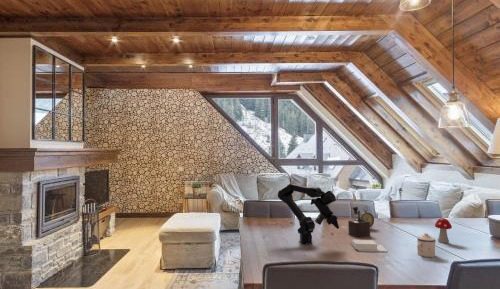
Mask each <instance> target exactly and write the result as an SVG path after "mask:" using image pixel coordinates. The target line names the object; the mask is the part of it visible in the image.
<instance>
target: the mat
mask: <svg viewBox="0 0 500 289" xmlns="http://www.w3.org/2000/svg"><path fill="white" fill-rule="evenodd" d="M356 250H357V252H374V253H388V250H387V249H386V248H385V247H384V246H383V245H382V244H377V250H369V249H356Z"/></svg>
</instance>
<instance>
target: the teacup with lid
mask: <svg viewBox="0 0 500 289" xmlns="http://www.w3.org/2000/svg"><path fill="white" fill-rule="evenodd" d="M416 240H417V249H416V250H417V254H418V256H420V257H425V258H434V257H436V238H435V237H432V236H431V235H429V234H428V233H424V234H423V235H420V236H417V238H416Z"/></svg>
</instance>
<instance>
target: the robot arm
mask: <svg viewBox="0 0 500 289" xmlns="http://www.w3.org/2000/svg"><path fill="white" fill-rule="evenodd" d="M294 191H295V192H298V193H301V194H305V195H307V197H310V198H311V200H310V206H312V205H314V206H315V207H316V208H317V210H318V212H319V214H317V217H316V218H315V220H313V218H312V217H311V216H306V215H305V214H304V212H303V211H302V210H301V208H300V207H299V206H298V204H297V203H296V202H295V200H294V198H293V193H294ZM277 197H278V199H279V200H280V201H281V202H283V203H285V204H286V206H287V207H288V209H290V210H291V212H292V214H293V215H294V216H295V218H296V219H297V220H298V223H299V228H298V229H297V233H298V234H299V240H298V243H300V244H301V245H312V244H313V235H312V233H314V230H315V227H316V224H318V225H319V226H321V225H322V223H323V221H324V220H326V221H325V222H326V223H327V224H328V226H330V225H331V224H332V226H334V228H335V229H337V230H339V229H340V225H339V223H338V220H339V219H338V217H337V216H336V214H334V211H332V210H331V208H330V207H329V205H330V204H332V203H334V202H336V201H337V197H336V195H335V194H334V193H333V192H332V191H331V190H327V191H326V192H324V191H323V190H322V189H321V187H319V186H318V187H317V186H315V187H314V186H313V187H312V186H311V187H308V186H306V185H305V186H304V185H300V184H296V183H289V184H287V186H285V187H284V188H282V189H279V191H278V192H277Z"/></svg>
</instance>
